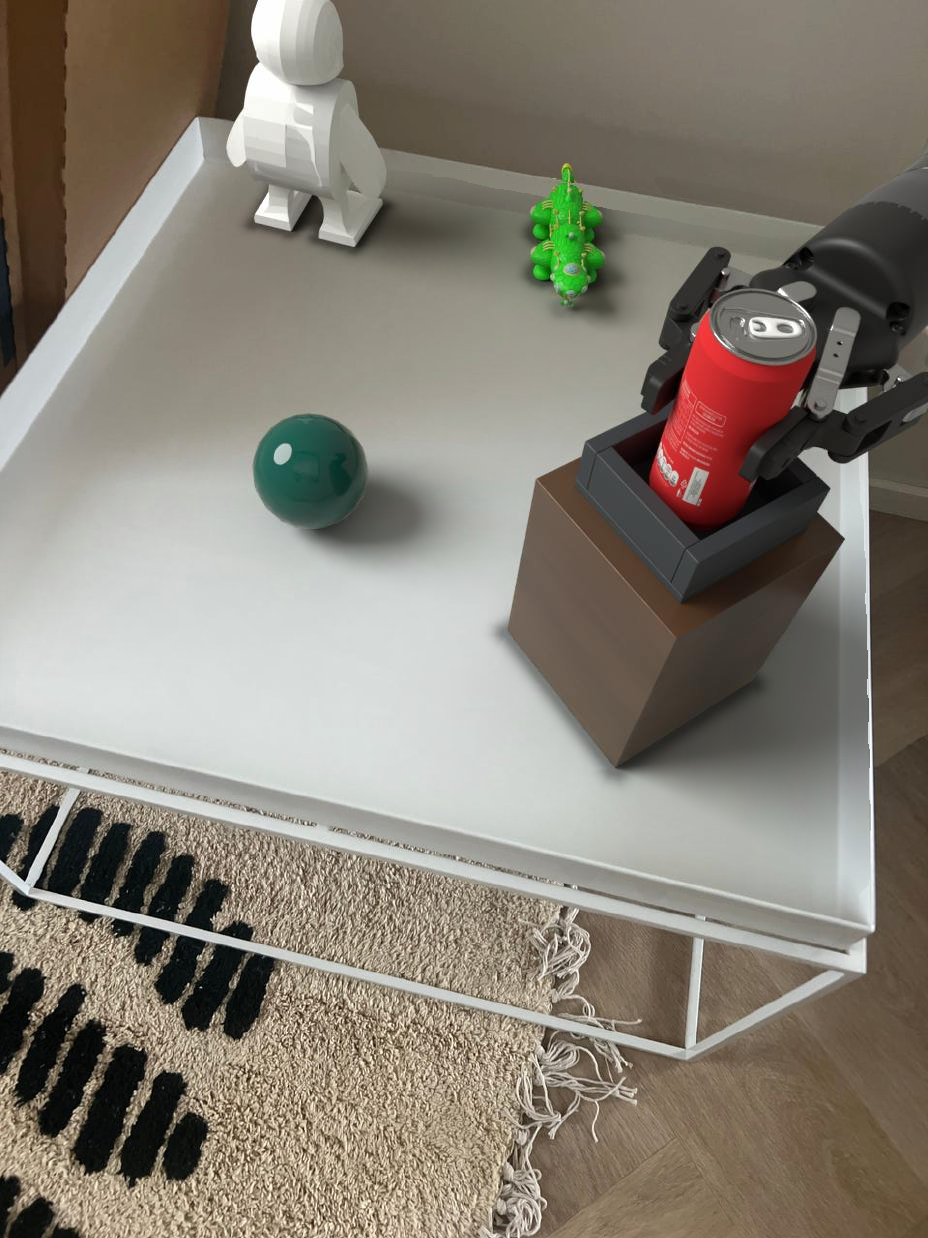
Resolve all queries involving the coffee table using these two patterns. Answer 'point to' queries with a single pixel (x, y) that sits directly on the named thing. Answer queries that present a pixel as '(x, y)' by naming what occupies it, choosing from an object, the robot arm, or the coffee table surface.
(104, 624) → the coffee table surface
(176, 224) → the coffee table surface
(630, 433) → the socket
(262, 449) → the sphere
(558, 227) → the crocodile figurine
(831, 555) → the stand
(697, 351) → the beverage can
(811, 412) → the robot arm
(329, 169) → the toy robot
